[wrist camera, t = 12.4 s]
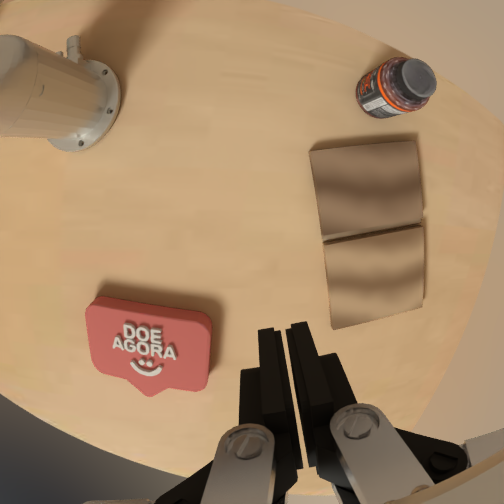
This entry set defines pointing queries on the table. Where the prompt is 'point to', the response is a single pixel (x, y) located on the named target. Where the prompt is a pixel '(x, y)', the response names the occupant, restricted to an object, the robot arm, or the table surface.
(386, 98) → the supplement bottle
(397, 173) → the brown wooden board
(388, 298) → the plank
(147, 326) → the plaque
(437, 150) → the table surface
